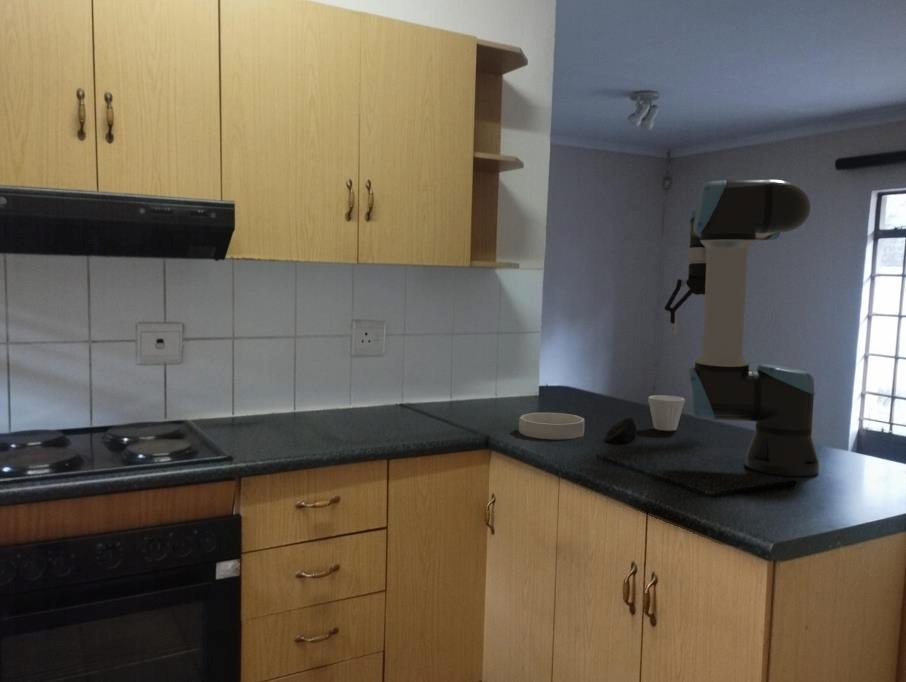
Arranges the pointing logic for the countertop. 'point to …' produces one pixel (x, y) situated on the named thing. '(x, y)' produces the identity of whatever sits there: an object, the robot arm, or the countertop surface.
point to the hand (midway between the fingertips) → (699, 335)
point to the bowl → (551, 425)
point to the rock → (622, 432)
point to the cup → (666, 411)
